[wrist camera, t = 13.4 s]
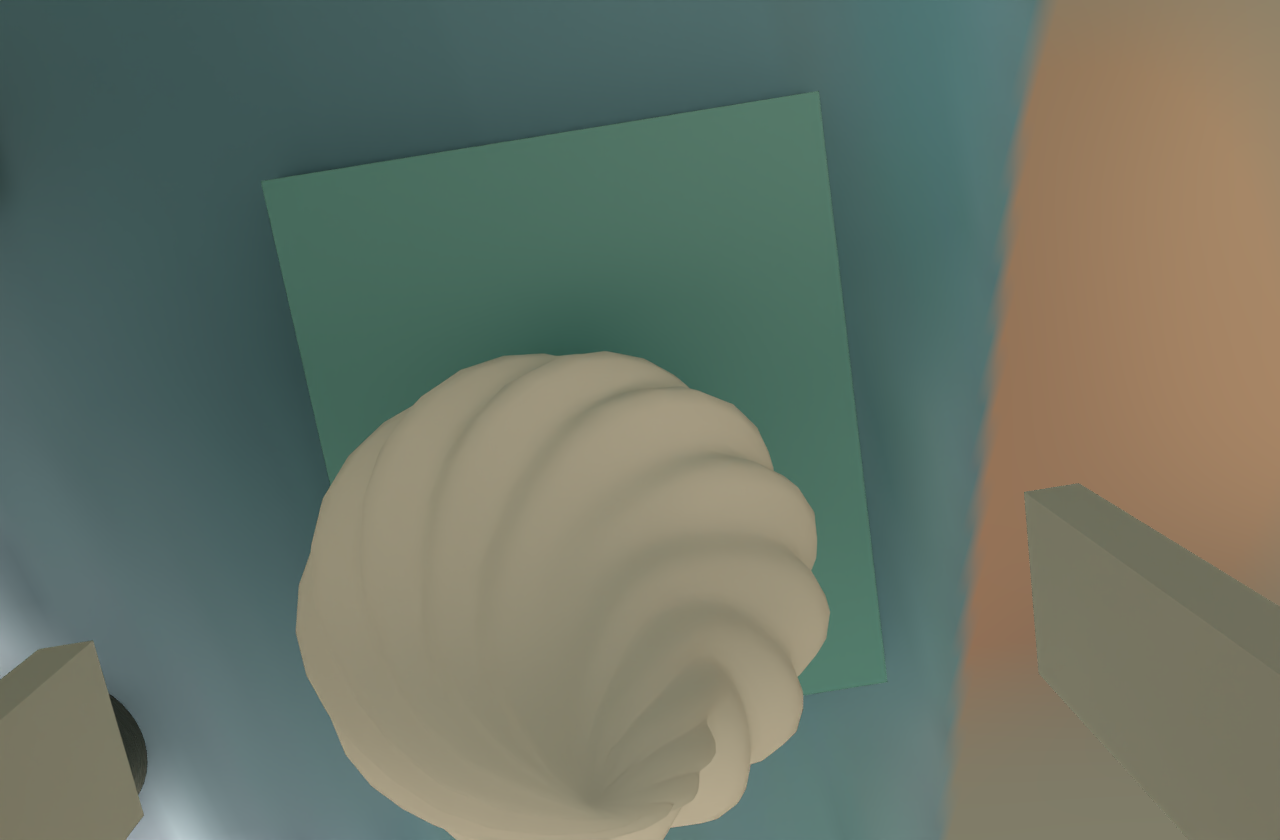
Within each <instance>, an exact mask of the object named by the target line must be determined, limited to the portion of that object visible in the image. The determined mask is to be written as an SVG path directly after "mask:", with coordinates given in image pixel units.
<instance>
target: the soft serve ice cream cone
mask: <svg viewBox="0 0 1280 840" xmlns="http://www.w3.org/2000/svg"><path fill="white" fill-rule="evenodd" d="M816 554H817V533H816V523H815V513H814V511H813V510H812V508H811V506H810V505H809V503H808V502H807V500H806V499H805V497H804V496H803V494H802V493H801V491H800V489H799V488H798V487H797V486H796V485H794V484H793V483H792V482H791V481H790V480H788V479H787V478H786V477H785V476H783V475H781V474H779V473H777V472H775V471H774V469H773V465H772V462H771V458H770V454H769V452H768V450H767V447H766V445H765V443H764V441H763V439H762V437H761V435H760V433H759V431H758V428H757V427H756V426H755V425H754V424H753V423H752V422H751V421H750V420H749V419H748V418H747V417H746V416H745V415H744V414H743V413H742V412H741V411H740V410H739V409H738V408H736V407H735V406H734V405H733V404H731V403H728V402H726V401H723V400H721V399H718V398H716V397H713V396H711V395H708V394H706V393H703V392H700V391H697V390H693V389H690V388H689V387H688V386H687V385H686V384H684V383H683V382H682V381H681V380H680V379H678V378H677V377H676V376H675V375H673V374H672V373H670V372H668V371H666V370H664V369H662V368H661V367H659V366H657V365H655V364H653V363H651V362H650V361H648V360H646V359H644V358H639V357H634V356H629V355H624V354H619V353H613V352H608V351H602V352H594V353H586V354H572V355H561V356H554V355H549V354H526V355H508V356H501V357H498V358H495V359H492V360H489V361H486V362H483V363H480V364H477V365H474V366H471V367H468V368H465V369H462V370H460V371H458V372H457V373H455V374H454V375H452V376H451V377H449V378H448V379H447V380H445V381H444V382H442V383H441V384H439V385H438V386H436V387H435V388H433V389H432V390H430V391H429V392H427V393H426V394H424V395H423V396H421V397H420V398H419V399H418V401H417V402H416V403H415V404H414V405H413V406H411V407H409V408H408V409H406V410H404V411H402V412H401V413H399V414H397V415H396V416H394V417H392V418H390V419H389V420H387V421H385V422H384V423H382V424H381V425H380V426H379V427H378V428H377V429H376V430H375V431H374V432H373V433H372V434H371V435H370V436H369V437H368V438H367V439H366V440H365V441H364V442H363V443H362V444H360V445H359V446H358V447H357V448H356V449H355V450H354V451H353V452H352V453H351V454H350V455H349V456H348V458H347V459H346V461H345V463H344V464H343V466H342V468H341V469H340V471H339V473H338V474H337V476H336V477H335V479H334V481H333V482H332V484H331V486H330V487H329V489H328V491H327V492H326V494H325V496H324V497H323V499H322V504H321V508H320V512H319V516H318V520H317V524H316V528H315V532H314V536H313V540H312V544H311V553H310V555H309V558H308V561H307V564H306V567H305V570H304V572H303V575H302V578H301V581H300V584H299V591H298V606H297V621H296V635H297V639H298V643H299V647H300V651H301V655H302V659H303V663H304V667H305V671H306V675H307V677H308V679H309V681H310V683H311V684H312V686H313V688H314V690H315V692H316V693H317V695H318V697H319V699H320V700H321V702H322V704H323V706H324V708H325V709H326V711H327V713H328V714H329V715H330V718H331V720H332V723H333V725H334V727H335V730H336V732H337V735H338V737H339V740H340V742H341V744H342V747H343V749H344V752H345V754H346V756H347V757H348V758H349V759H350V761H351V762H352V763H353V764H354V765H355V767H356V768H357V769H358V770H359V771H360V773H361V774H362V775H363V776H364V778H365V779H366V780H367V781H368V782H369V784H370V785H371V786H372V787H373V788H375V789H376V790H377V791H379V792H380V793H382V794H383V795H384V796H386V797H387V798H388V799H390V800H391V801H393V802H394V803H395V804H397V805H398V806H399V807H401V808H402V809H404V810H406V811H408V812H410V813H412V814H413V815H415V816H417V817H419V818H421V819H423V820H425V821H427V822H429V823H431V824H433V825H435V826H437V827H440V828H443V829H445V830H446V831H447V832H448V833H449V834H450V835H452V836H453V837H454V838H455V839H456V840H663V839H664V838H665V836H666V834H667V832H668V831H669V829H670V828H672V827H679V826H686V825H693V824H700V823H704V822H707V821H711V820H715V819H718V818H719V817H721V816H722V815H723V814H724V813H726V812H727V811H728V810H730V809H731V808H732V807H733V806H735V805H736V804H737V803H738V802H739V800H740V799H741V797H742V795H743V793H744V791H745V789H746V786H747V781H748V776H749V771H750V764H753V763H756V762H760V761H762V760H764V759H765V758H766V757H768V756H769V755H770V754H771V753H773V752H774V751H775V750H777V749H778V748H779V747H780V746H782V745H783V744H784V743H785V742H786V741H787V740H788V739H789V738H790V737H791V736H792V735H793V734H794V733H795V732H796V731H797V727H798V724H799V720H800V717H801V714H802V710H803V690H802V688H801V685H800V682H799V680H798V676H799V675H800V674H801V673H802V672H803V670H804V669H805V668H806V667H807V665H808V664H809V663H810V662H811V661H812V659H813V658H814V657H815V656H816V654H817V653H818V651H819V650H820V648H821V646H822V645H823V643H824V641H825V640H826V637H827V630H828V623H829V616H830V610H829V606H828V603H827V599H826V596H825V594H824V592H823V590H822V588H821V587H820V585H819V583H818V582H817V580H816V578H815V576H814V575H813V573H812V571H811V570H812V567H813V565H814V562H815V560H816Z"/></svg>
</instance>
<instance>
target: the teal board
mask: <svg viewBox="0 0 1280 840" xmlns="http://www.w3.org/2000/svg"><path fill="white" fill-rule="evenodd" d="M261 184H262V189H263V193H264V197H265V202H266V206H267V211H268V215H269V219H270V224H271V228H272V232H273V237H274V241H275V246H276V250H277V254H278V259H279V263H280V267H281V272H282V276H283V281H284V285H285V289H286V294H287V298H288V302H289V307H290V311H291V316H292V320H293V324H294V329H295V333H296V337H297V342H298V346H299V351H300V355H301V359H302V364H303V368H304V372H305V377H306V381H307V386H308V390H309V394H310V399H311V403H312V407H313V412H314V416H315V421H316V425H317V429H318V434H319V438H320V442H321V447H322V451H323V456H324V460H325V464H326V469H327V473H328V477H329V482H330V486H331V484H332V482H333V481H334V479H335V477H336V476H337V474H338V473H339V471H340V469H341V468H342V466H343V464H344V463H345V461H346V459H347V458H348V456H349V455H350V454H351V453H352V452H353V451H354V450H355V449H356V448H357V447H358V446H359V445H360V444H362V443H363V442H364V441H365V440H366V439H367V438H368V437H369V436H370V435H371V434H372V433H373V432H374V431H375V430H376V429H377V428H378V427H379V426H380V425H381V424H382V423H384V422H385V421H387V420H389V419H390V418H392V417H394V416H396V415H397V414H399V413H401V412H402V411H404V410H406V409H408V408H409V407H411V406H413V405H414V404H415V403H416V402H417V401H418V399H419V398H420V397H421V396H423V395H424V394H426V393H427V392H429V391H430V390H432V389H433V388H435V387H436V386H438V385H439V384H441V383H442V382H444V381H445V380H447V379H448V378H449V377H451V376H452V375H454V374H455V373H457V372H458V371H460V370H462V369H465V368H468V367H471V366H474V365H477V364H480V363H483V362H486V361H489V360H492V359H495V358H498V357H501V356H508V355H526V354H549V355H554V356H561V355H572V354H586V353H594V352H602V351H608V352H613V353H619V354H624V355H629V356H634V357H639V358H644V359H646V360H648V361H650V362H651V363H653V364H655V365H657V366H659V367H661V368H662V369H664V370H666V371H668V372H670V373H672V374H673V375H675V376H676V377H677V378H678V379H680V380H681V381H682V382H683V383H684V384H686V385H687V386H688V387H689V388H690V389H693V390H697V391H700V392H703V393H706V394H708V395H711V396H713V397H716V398H718V399H721V400H723V401H726V402H728V403H731V404H733V405H734V406H735V407H736V408H738V409H739V410H740V411H741V412H742V413H743V414H744V415H745V416H746V417H747V418H748V419H749V420H750V421H751V422H752V423H753V424H754V425H755V426H756V427H757V428H758V431H759V433H760V435H761V437H762V439H763V441H764V443H765V445H766V447H767V450H768V452H769V454H770V458H771V462H772V465H773V469H774V471H775V472H777V473H779V474H781V475H783V476H785V477H786V478H787V479H788V480H790V481H791V482H792V483H793V484H794V485H796V486H797V487H798V488H799V489H800V491H801V493H802V494H803V496H804V497H805V499H806V500H807V502H808V503H809V505H810V506H811V508H812V510H813V511H814V513H815V523H816V533H817V554H816V560H815V562H814V565H813V567H812V570H811V571H812V573H813V575H814V576H815V578H816V580H817V582H818V583H819V585H820V587H821V588H822V590H823V592H824V594H825V596H826V599H827V603H828V606H829V610H830V616H829V623H828V630H827V637H826V640H825V641H824V643H823V645H822V646H821V648H820V650H819V651H818V653H817V654H816V656H815V657H814V658H813V659H812V661H811V662H810V663H809V664H808V665H807V667H806V668H805V669H804V670H803V672H802V673H801V674H800V675H799V676H798V680H799V682H800V685H801V688H802V690H803V695H808V694H815V693H821V692H827V691H833V690H840V689H846V688H852V687H859V686H865V685H871V684H878V683H884V682H887V675H886V666H885V657H884V649H883V640H882V632H881V623H880V614H879V606H878V597H877V589H876V580H875V571H874V563H873V554H872V546H871V537H870V528H869V520H868V511H867V503H866V494H865V485H864V477H863V468H862V459H861V451H860V442H859V434H858V425H857V416H856V408H855V399H854V391H853V382H852V373H851V365H850V356H849V348H848V339H847V330H846V322H845V313H844V305H843V296H842V287H841V279H840V270H839V262H838V253H837V244H836V236H835V227H834V219H833V210H832V201H831V193H830V184H829V176H828V167H827V158H826V150H825V141H824V133H823V124H822V115H821V107H820V98H819V91H816V92H810V93H804V94H797V95H791V96H785V97H779V98H773V99H766V100H760V101H754V102H748V103H742V104H735V105H729V106H723V107H717V108H711V109H705V110H698V111H692V112H686V113H680V114H674V115H667V116H661V117H655V118H649V119H643V120H636V121H630V122H624V123H618V124H612V125H606V126H599V127H593V128H587V129H581V130H575V131H568V132H562V133H556V134H550V135H544V136H537V137H531V138H525V139H519V140H513V141H507V142H500V143H494V144H488V145H482V146H476V147H469V148H463V149H457V150H451V151H445V152H438V153H432V154H426V155H420V156H414V157H408V158H401V159H395V160H389V161H383V162H377V163H370V164H364V165H358V166H352V167H346V168H340V169H333V170H327V171H321V172H315V173H309V174H302V175H296V176H290V177H284V178H278V179H271V180H265V181H261Z"/></svg>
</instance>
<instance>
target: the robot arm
mask: <svg viewBox="0 0 1280 840" xmlns="http://www.w3.org/2000/svg"><path fill="white" fill-rule="evenodd" d="M1024 496H1025V509H1026V521H1027V534H1028V546H1029V559H1030V570H1031V583H1032V594H1033V595H1032V596H1033V608H1034V621H1035V632H1036V646H1037V658H1038V670H1039V674H1040V675H1041V676H1042V677H1043V678H1044V680H1045V681H1046V682H1047V683H1048V684H1049V685H1050V686H1051V688H1052V689H1053V690H1054V691H1055V692H1056V693H1057V694H1058V695H1059V696H1060V698H1061V699H1062V700H1063V701H1064V702H1065V703H1066V704H1067V705H1068V706H1069V708H1070V709H1071V710H1072V711H1073V712H1074V713H1075V714H1076V715H1077V716H1078V718H1079V719H1080V720H1081V721H1082V722H1083V723H1084V724H1085V725H1086V726H1087V727H1088V729H1089V730H1090V731H1091V732H1092V733H1093V734H1094V735H1095V736H1096V738H1097V739H1098V740H1099V741H1100V742H1101V743H1102V744H1103V745H1104V746H1105V748H1106V749H1107V750H1108V751H1109V752H1110V753H1111V754H1112V755H1113V757H1114V758H1115V759H1116V760H1117V761H1118V762H1119V763H1120V764H1121V765H1122V767H1123V768H1124V769H1125V770H1126V771H1127V772H1128V773H1129V774H1130V775H1131V777H1132V778H1133V779H1134V780H1135V781H1136V782H1137V783H1138V784H1139V785H1140V786H1141V788H1142V789H1143V790H1144V791H1145V792H1146V793H1147V794H1148V795H1149V797H1150V798H1151V799H1152V800H1153V801H1154V802H1155V803H1156V804H1157V805H1158V806H1159V808H1160V809H1161V810H1162V811H1163V812H1164V813H1165V814H1166V815H1167V817H1168V818H1169V819H1170V820H1171V821H1172V822H1173V823H1174V824H1175V825H1176V827H1177V828H1178V829H1179V830H1180V831H1181V832H1182V833H1183V834H1184V835H1185V837H1186V838H1187V839H1188V840H1280V606H1278V605H1276V604H1275V603H1273V602H1271V601H1270V600H1268V599H1267V598H1265V597H1263V596H1262V595H1260V594H1258V593H1257V592H1255V591H1253V590H1252V589H1250V588H1249V587H1247V586H1245V585H1244V584H1242V583H1240V582H1239V581H1237V580H1236V579H1234V578H1232V577H1231V576H1229V575H1227V574H1226V573H1224V572H1223V571H1221V570H1219V569H1218V568H1216V567H1214V566H1213V565H1211V564H1209V563H1208V562H1206V561H1205V560H1203V559H1201V558H1200V557H1198V556H1196V555H1195V554H1193V553H1192V552H1190V551H1188V550H1187V549H1185V548H1183V547H1182V546H1180V545H1179V544H1177V543H1175V542H1173V541H1172V540H1170V539H1169V538H1167V537H1165V536H1164V535H1162V534H1161V533H1159V532H1157V531H1156V530H1154V529H1152V528H1151V527H1149V526H1147V525H1146V524H1144V523H1142V522H1141V521H1139V520H1138V519H1136V518H1134V517H1133V516H1131V515H1129V514H1128V513H1126V512H1125V511H1123V510H1121V509H1120V508H1118V507H1117V506H1115V505H1113V504H1112V503H1110V502H1108V501H1107V500H1105V499H1103V498H1102V497H1100V496H1099V495H1097V494H1095V493H1094V492H1092V491H1090V490H1089V489H1087V488H1085V487H1084V486H1082V485H1081V484H1072V485H1066V486H1059V487H1053V488H1047V489H1040V490H1034V491H1028V492H1024ZM143 816H144V814H143V810H142V807H141V804H140V800H139V797H138V793H137V790H136V786H135V783H134V780H133V776H132V773H131V769H130V766H129V762H128V759H127V756H126V752H125V749H124V745H123V742H122V738H121V735H120V732H119V728H118V725H117V721H116V718H115V714H114V711H113V708H112V704H111V701H110V697H109V694H108V690H107V687H106V684H105V680H104V677H103V673H102V670H101V666H100V663H99V660H98V656H97V653H96V649H95V646H94V642H93V641H87V642H80V643H74V644H68V645H62V646H55V647H49V648H43V649H38V650H37V651H36V652H35V653H33V654H32V655H31V656H30V657H28V658H27V659H26V660H25V661H23V662H22V663H21V664H20V665H18V666H17V667H16V668H14V669H13V670H12V671H11V672H9V673H8V674H7V675H6V676H4V677H3V678H2V679H1V680H0V840H126V838H127V837H128V836H129V834H130V833H131V832H132V830H133V829H134V828H135V826H136V825H137V824H138V822H139V821H140V820H141V818H142V817H143Z"/></svg>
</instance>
